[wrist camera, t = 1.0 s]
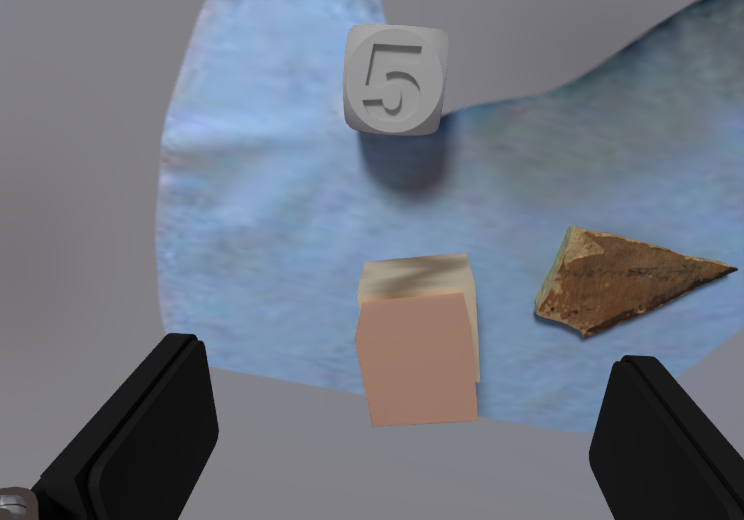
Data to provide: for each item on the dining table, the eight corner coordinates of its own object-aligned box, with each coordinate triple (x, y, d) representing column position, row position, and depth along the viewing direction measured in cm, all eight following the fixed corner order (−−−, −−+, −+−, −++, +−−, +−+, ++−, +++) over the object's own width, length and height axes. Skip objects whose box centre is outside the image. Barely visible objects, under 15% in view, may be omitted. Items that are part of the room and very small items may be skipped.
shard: (724, 259, 29) (742, 270, 28) (665, 350, 33) (678, 366, 31) (568, 217, 29) (577, 226, 28) (523, 313, 32) (529, 327, 31)
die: (444, 34, 25) (451, 28, 21) (434, 126, 27) (439, 138, 23) (356, 29, 25) (344, 22, 21) (353, 120, 27) (341, 132, 23)
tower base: (465, 251, 30) (475, 285, 26) (470, 338, 33) (480, 382, 29) (364, 261, 31) (356, 294, 27) (378, 344, 34) (372, 388, 29)
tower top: (463, 292, 26) (471, 329, 22) (469, 375, 28) (478, 420, 25) (362, 301, 27) (354, 339, 23) (377, 381, 29) (372, 426, 26)
